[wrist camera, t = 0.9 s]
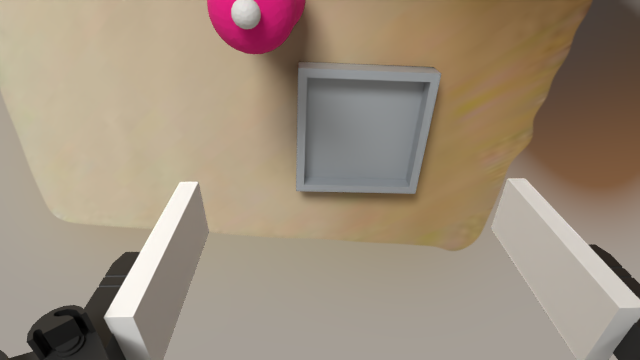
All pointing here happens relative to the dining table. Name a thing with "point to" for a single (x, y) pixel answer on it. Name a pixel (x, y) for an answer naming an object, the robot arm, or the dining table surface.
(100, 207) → the dining table surface
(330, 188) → the tray
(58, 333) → the robot arm
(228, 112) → the dining table surface
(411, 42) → the dining table surface
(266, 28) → the pepper mill
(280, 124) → the dining table surface
